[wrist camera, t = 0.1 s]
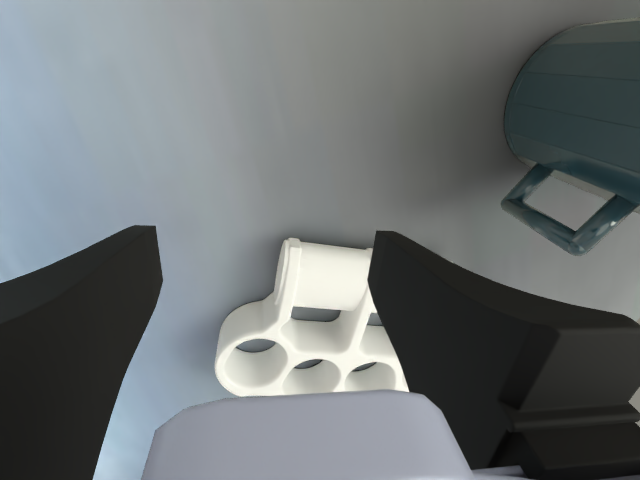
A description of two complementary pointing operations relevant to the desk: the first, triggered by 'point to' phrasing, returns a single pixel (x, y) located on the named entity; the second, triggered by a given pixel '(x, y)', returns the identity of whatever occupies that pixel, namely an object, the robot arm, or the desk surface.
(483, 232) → the desk surface
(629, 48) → the mug
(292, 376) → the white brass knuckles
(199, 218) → the desk surface
